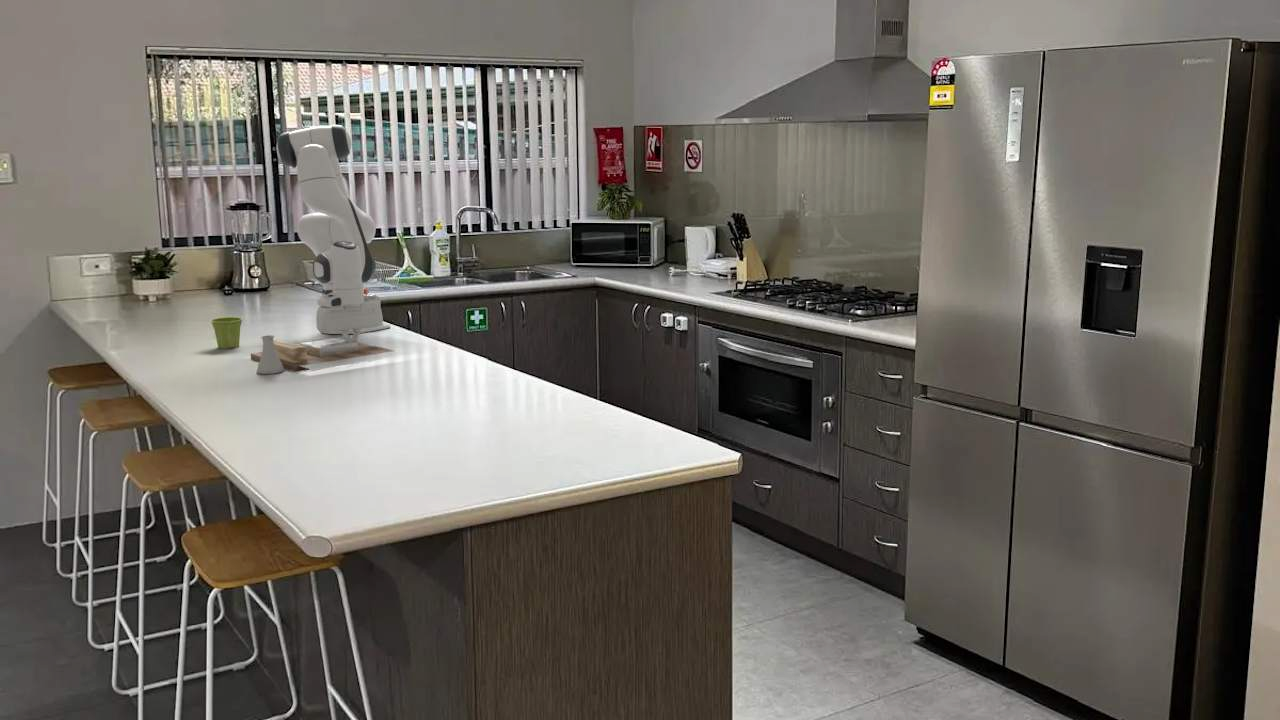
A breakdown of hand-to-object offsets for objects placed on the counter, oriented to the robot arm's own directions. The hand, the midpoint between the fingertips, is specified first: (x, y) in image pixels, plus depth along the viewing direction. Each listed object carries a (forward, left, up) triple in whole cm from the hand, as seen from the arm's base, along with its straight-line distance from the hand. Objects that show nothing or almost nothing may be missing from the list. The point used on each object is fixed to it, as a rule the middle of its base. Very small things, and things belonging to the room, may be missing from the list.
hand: (351, 344), depth 341 cm
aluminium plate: (+7, 0, -1) cm, 8 cm away
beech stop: (+21, 0, -1) cm, 21 cm away
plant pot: (+21, -38, -3) cm, 44 cm away
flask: (+30, +9, -3) cm, 31 cm away
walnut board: (+9, 0, -3) cm, 10 cm away
